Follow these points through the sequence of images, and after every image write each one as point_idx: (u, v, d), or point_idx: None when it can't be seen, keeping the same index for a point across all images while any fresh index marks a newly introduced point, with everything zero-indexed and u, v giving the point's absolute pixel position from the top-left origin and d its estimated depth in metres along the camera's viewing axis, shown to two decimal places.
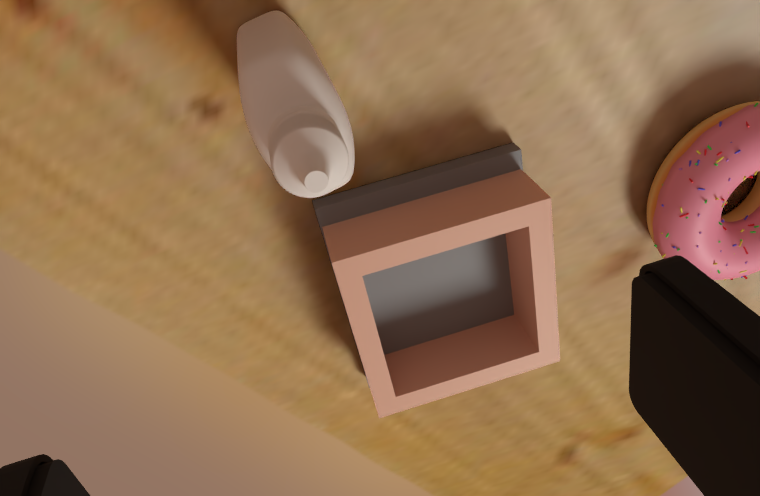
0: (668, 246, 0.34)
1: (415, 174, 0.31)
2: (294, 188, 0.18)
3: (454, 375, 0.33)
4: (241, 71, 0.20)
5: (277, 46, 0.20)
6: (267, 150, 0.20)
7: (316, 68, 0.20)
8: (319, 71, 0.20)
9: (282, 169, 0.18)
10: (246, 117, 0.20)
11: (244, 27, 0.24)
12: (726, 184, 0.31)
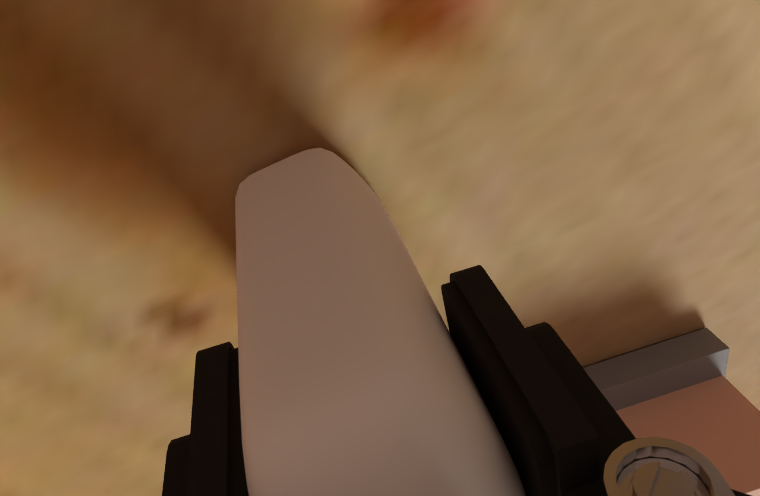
0: None
1: None
2: None
3: None
4: (249, 436, 0.07)
5: (354, 362, 0.07)
6: None
7: (466, 415, 0.07)
8: (472, 422, 0.07)
9: None
10: None
11: (251, 196, 0.11)
12: None
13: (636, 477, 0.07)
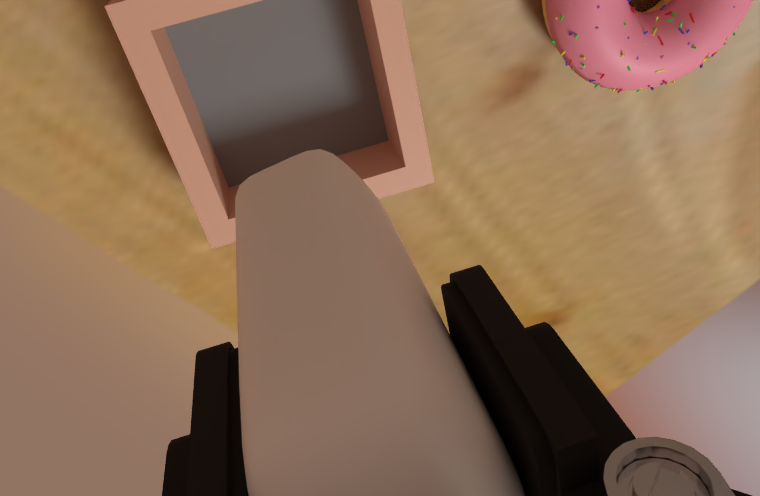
0: (565, 35, 0.28)
1: None
2: None
3: None
4: (250, 439, 0.07)
5: (354, 364, 0.07)
6: None
7: (466, 416, 0.07)
8: (472, 424, 0.07)
9: None
10: None
11: (251, 197, 0.11)
12: None
13: (636, 478, 0.07)
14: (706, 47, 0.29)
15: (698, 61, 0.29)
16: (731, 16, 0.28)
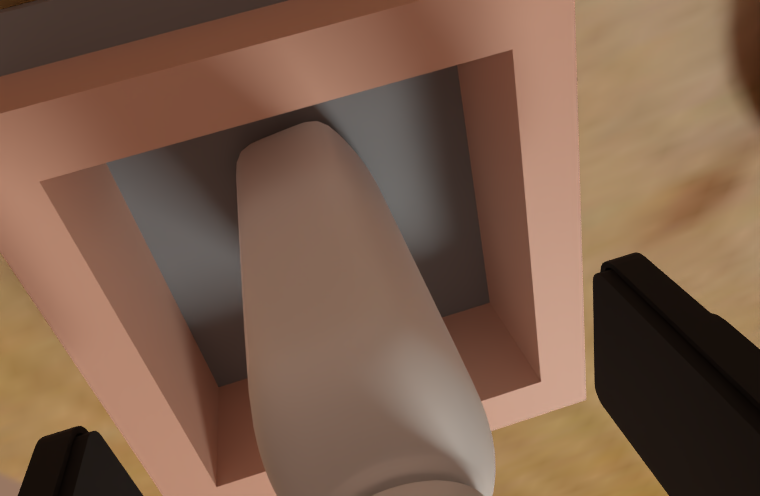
0: None
1: None
2: None
3: None
4: (256, 367, 0.08)
5: (348, 307, 0.08)
6: None
7: (442, 356, 0.08)
8: (447, 362, 0.08)
9: None
10: (264, 462, 0.08)
11: (253, 162, 0.12)
12: None
13: None
14: None
15: None
16: None
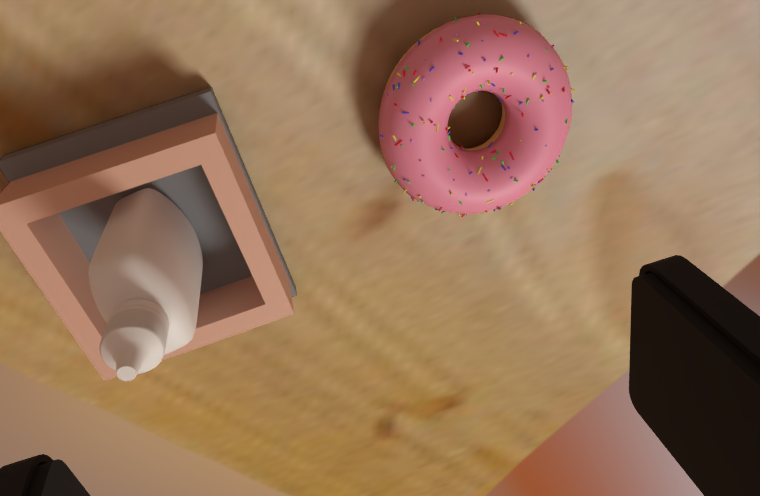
0: (401, 179, 0.32)
1: (105, 123, 0.30)
2: None
3: None
4: (89, 269, 0.25)
5: (117, 249, 0.25)
6: None
7: (149, 264, 0.25)
8: (152, 266, 0.25)
9: (108, 357, 0.23)
10: (95, 302, 0.25)
11: (116, 207, 0.30)
12: (429, 105, 0.30)
13: None
14: (528, 178, 0.33)
15: (525, 189, 0.33)
16: (546, 151, 0.32)
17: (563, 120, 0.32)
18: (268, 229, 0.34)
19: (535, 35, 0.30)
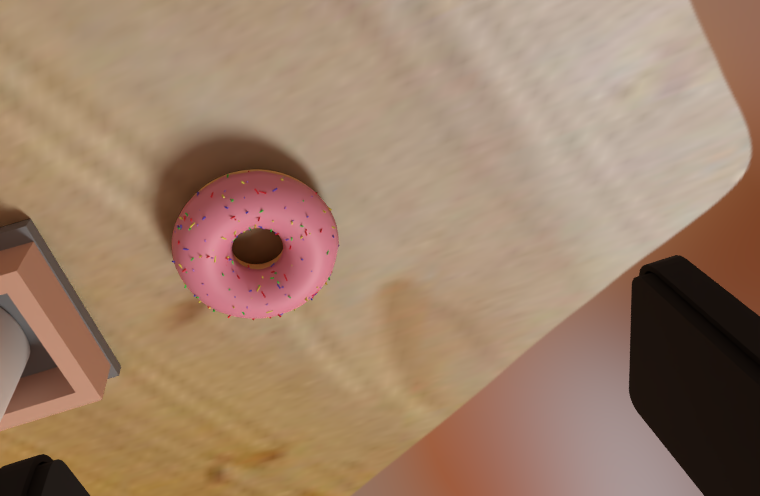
0: None
1: None
2: None
3: None
4: None
5: None
6: None
7: None
8: None
9: None
10: None
11: None
12: (204, 244, 0.37)
13: None
14: (300, 295, 0.40)
15: (300, 302, 0.41)
16: (313, 275, 0.40)
17: (324, 252, 0.39)
18: (87, 326, 0.41)
19: (294, 189, 0.37)
